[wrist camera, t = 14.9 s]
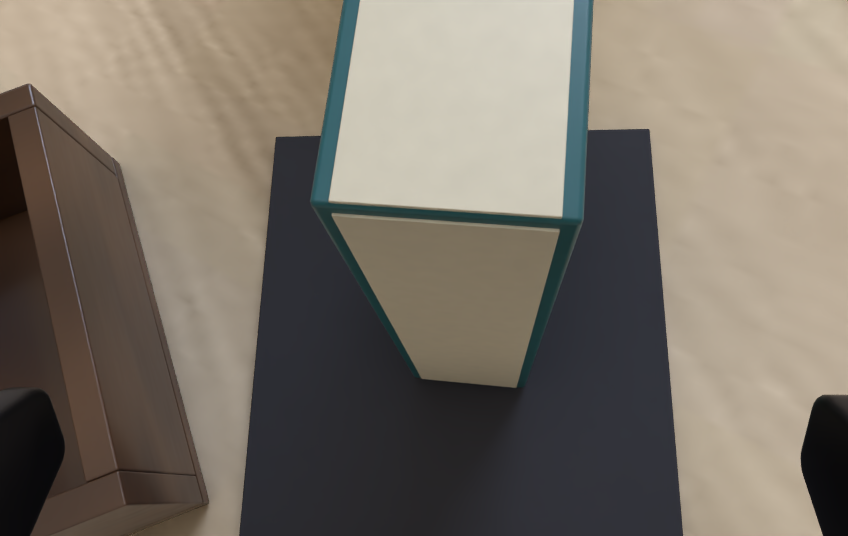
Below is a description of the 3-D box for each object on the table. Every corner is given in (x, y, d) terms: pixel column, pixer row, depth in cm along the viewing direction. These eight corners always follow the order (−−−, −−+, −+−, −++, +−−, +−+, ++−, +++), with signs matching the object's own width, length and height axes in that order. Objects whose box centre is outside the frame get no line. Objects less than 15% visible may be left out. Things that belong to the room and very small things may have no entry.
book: (525, 389, 20) (587, 226, 8) (413, 379, 21) (304, 207, 8) (540, 163, 22) (607, -245, 10) (437, 157, 23) (380, -244, 10)
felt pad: (710, 899, 17) (714, 906, 16) (212, 865, 18) (207, 871, 18) (647, 133, 23) (649, 128, 23) (278, 140, 24) (275, 136, 24)
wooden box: (209, 502, 20) (126, 505, 16) (-17, 592, 20) (-171, 622, 15) (119, 163, 24) (29, 81, 19) (-74, 236, 24) (-213, 171, 19)
